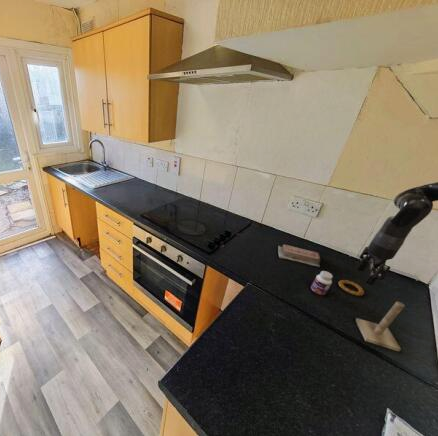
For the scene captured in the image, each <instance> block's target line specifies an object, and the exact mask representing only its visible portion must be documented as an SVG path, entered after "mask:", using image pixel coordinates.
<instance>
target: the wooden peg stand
mask: <svg viewBox="0 0 438 436" xmlns="http://www.w3.org/2000/svg"><path fill="white" fill-rule="evenodd" d="M405 305H406V304H404V303H403V302H401V301H395V303H393V305H392V306H391V308H389V310H388V311H387V313H386V314H385V315H384V316H383V317H382V319H381V320H380V322H379V323H375V322H371V321H368V320H365V319H361V318H358V317H356V318H355V320H354V321H355V323H356V325H357V328H358V329H359V332H360V334H361V335H362V337H363V340H364V341H365V342H367V343H370V344H374V345H377V346H380V347H383V348H387V349H390V350H392V351H396V352H400V351H401V350H402V348H401V346H400V345H399V344H398V341H396V339H395V337H394V335H393V333H392V332H391V330H390V329H389V326H390V325H391V324H392V322H393V321H394V320H395V319H396V318H397V316H398V315H399V314H400V313H401V311H402V310H403V309H404V308H405V307H406V306H405Z"/></svg>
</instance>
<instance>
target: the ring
mask: <svg viewBox="0 0 438 436" xmlns="http://www.w3.org/2000/svg"><path fill="white" fill-rule="evenodd" d="M337 284H338V286H339V287H340V288H341V289H342V290H343V291H345V292H346V293H349V294H350V295H354V296H357V297H360V296H364V294H365V290H364V289H363V287H362V286H361V285H359V283H356V282H354V281H351V280H348V279H340V280H339V281H338V282H337ZM345 284H348V285H351V286H353V287H355V288H356V289H357V290H358V291H356V290H352V289H350V288H348V287H347V286H346V285H345Z"/></svg>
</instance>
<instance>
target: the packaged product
mask: <svg viewBox="0 0 438 436" xmlns="http://www.w3.org/2000/svg"><path fill="white" fill-rule="evenodd" d="M277 253H278V258H280V259H285V260H289V261H292V262H298V263H303V264H305V265H308V266H309V265H310V266H312V267H313V266H314V267H318V268H320V267H321V266H320V263H321V257H320V254H319V252H317V251H313V250H309V249H304V248H301V247H296V246H292V245H290V244H289V245H288V244H282V246H280V245H278V247H277Z"/></svg>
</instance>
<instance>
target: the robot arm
mask: <svg viewBox="0 0 438 436" xmlns="http://www.w3.org/2000/svg"><path fill="white" fill-rule="evenodd" d="M437 201H438V181H436V182H432V183H427V184H423V185H419V186H416V187H412V188H408V189H406V190H403V191H402V192H399V193H398V194H397V195H395V197H394V198H393V204H394V206H395V207H396V208H397V209H399V210H398V212H397V213H396V214H395V215H391V216H388V217H387V218H386V219H385V221H384V222H383V223H382V225H381V226H380V228H379V230H378V231H377V232H376V233H375V235H374V236H373V238H372V240H371V241H370V243H368V246H365V248H364V249H363V251H362V252H361V253H360V255H359V257H358V258H359V259H360V260H359V264H358V266H357V268H356V270H357V271H358V272H365V270H366V269H367V267H368V265H369V271H370V274H369V275H368V277H367V278H366V280H365V283H366V284H367V285H369V286H370V285H371V286H373V285H374V284H375V283H376V281H377V280H381V281H383V280H384V279H385V278H386V276H387V275H388V273H389V272H390V270H391V266H390V265H387V264H386V263H387V261H388V260H392V259H394V258H395V256H396V255H397V253H398V252H399V250H400V249H401V248H402V247H403V245H404V243H405V241H406V239H407V237H408V236H409V234H410V233H411V232H412V231H413V228H415V227H416V226H417V225H418V224H419V223H421V222H422V221H423V220H424V219H426V218H427V217H428V215H430V214H431V212H432V210H433V208H434V202H437Z"/></svg>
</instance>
